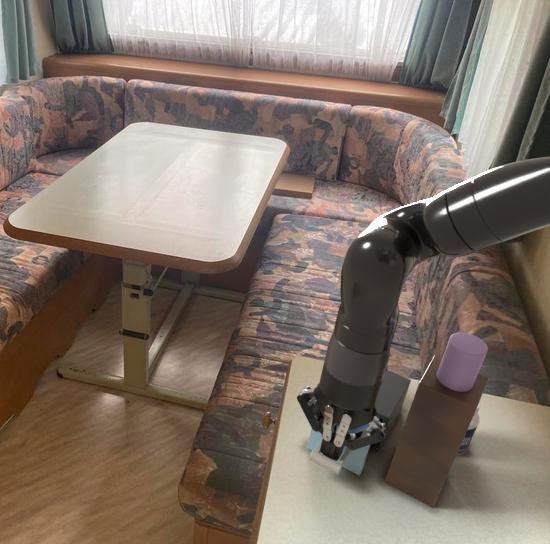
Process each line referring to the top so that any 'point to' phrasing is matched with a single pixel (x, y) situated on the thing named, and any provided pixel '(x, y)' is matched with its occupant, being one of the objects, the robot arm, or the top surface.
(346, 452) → the drawer
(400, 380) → the cabinet
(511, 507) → the top surface
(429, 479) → the stand
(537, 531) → the top surface
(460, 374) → the purple cylinder
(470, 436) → the pill bottle
